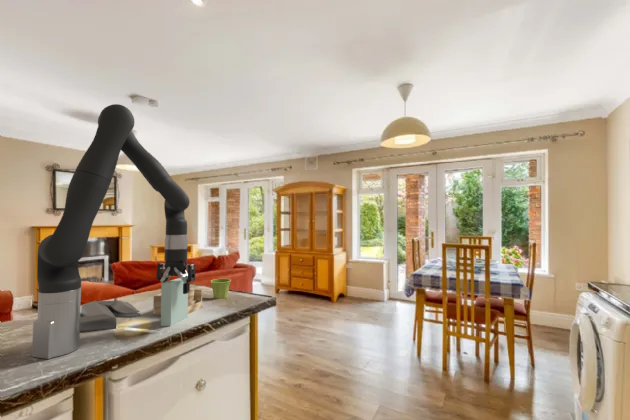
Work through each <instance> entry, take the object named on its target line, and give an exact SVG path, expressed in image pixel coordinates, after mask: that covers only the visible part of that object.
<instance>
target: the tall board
mask: <svg viewBox="0 0 630 420" xmlns="http://www.w3.org/2000/svg"><path fill="white" fill-rule="evenodd" d="M183 284H184V282H183V281H182V279H181V278H180V277H177V278H175V279H172V280H168V281H167V282H164V283H161V286H160V287H161V291H160V294H161V315H160V326H162V327H163V326H164V327H172V326H175V325H176V324H179V323H181V322H183V321H185V320H186V319H188V318H189V317H188V315H189V314H188V293H187V294H183Z"/></svg>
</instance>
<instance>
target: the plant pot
mask: <svg viewBox="0 0 630 420" xmlns="http://www.w3.org/2000/svg"><path fill="white" fill-rule="evenodd" d="M231 282H232V279H230V278H216V279H212V280H210V284H211V287H212V292H213V294H212V295H213V299H215V300H217V299H218V300H227V299H228V295H229V291H230V290H229V288H230V284H231Z"/></svg>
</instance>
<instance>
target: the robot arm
mask: <svg viewBox="0 0 630 420" xmlns="http://www.w3.org/2000/svg"><path fill="white" fill-rule="evenodd" d="M134 126H135V117H134V115H133V113H132V111H131V110H130V109H129V108H128V107H126V106H125V105H123V104H117V103H116V104H115V103H114V104H111V105H107V106H106V107H104V108H103V109H102V110H101V112H100V114H99V116H98V118H97V128H96V131H95V134H94V137H93V139H92V141H91V144H90V145H89V147H88V148H87V149H86V151H85V153H84V154H83V156H82V158H81V159H80V160H79V163H78V165H77V166H76V168H75V170H74V173H73V175H72V177H71V179H70V182H69V184H68V188H67V191H66V195H65V196H66V197H65V202H64V204H65V205H64V209H63V213H62V216H61V219H60V220H59V222H58V224H57V226H56V228H55V230H54V232H52V234H50V235H48V236H46V237H45V238H43V239H42V240H41V242H39V245H38V249H37V257H36V259H37V264H36V265H37V266H36V267H37V268H36V269H37V272H36V273H37V276H36V277H37V284H38V297H37V298H38V299H37V301H38V302H37V319H36V320H34V321H33V324H32V346H31V348H32V351H31V357H33V358H40V359H46V360H47V359H48V360H50V359H52V358H56V357H61V356H64V355H67V354H71V353H72V352H75V351H76V350H78V349H79V348H80V337H81V336H80V334H81V332H80V316H81V299H82V277H81V276H80V275H81V274H80V272H79V271H80V270H79V261H80V260H81V259H82V258H83V256H84V254H85V253H86V252H85V251H86V249H87V244H88V242H89V238H90V233H91V230H92V227H93V224H94V221H95V218H96V217H97V214H98V213H99V211H100V209H101V206H102V204H103V201H104V200H105V197H106V195H107V193H108V190H109V188H110V186H111V183H112V180H113V177H114V174H115V171H116V167H117V164H118V161H119V156H120V153H121V152H122V153H124V155H125V156H126V158H128V159H129V160H130V162H131V163H132V164H133V165H134V166H135V167H136V169H137V170H138V171H139V172H140V174H141V175H142V176H143V177H144V178H145V180H146V181H147V182H148V184H149V185H150V186H151V188H152V189H153V190H154V191H156V192H158V193H159V194H160V195H161V196H162V197H163V199H164V216H165V238H164V261H165V262H159V263H156V264H157V265H156V278H155V279H156V281H160V282H161V283H164V282H167V281H169V280H170V278H171V277H178V278H181V279H182V281H183V282H184V284H183V294H187V293H188V292H189V291H190V289H191V284H190V283H191V282H195V281H196V266H195V264H194V263H191V264H188V263H187V260H188V251H189V250H188V247H189V246H188V221H187V219H186V218H185V210H187V209H188V208H189V207H190V203H191V202H190V198H189V196H188V194H187V193H186V191H184V189H183V188H182V187H181V186H180V185H179V184H178V183H177V182H176V181H175V180H174V179H173V178H172V177H171V175H170V174H169V172H168V171H167V170H166V169H165V167H164V166H163V165H162V163H161V162H160V161H159V160H158V159H157V158H156V157H155V156H153V155H152V154H151V152H149V151H148V150H147V149H145V148H144V146H143V145H142V144H141V143H140V142H139V140H138V139H137V137H136V136H135V134H134V132H133V129H134Z"/></svg>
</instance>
